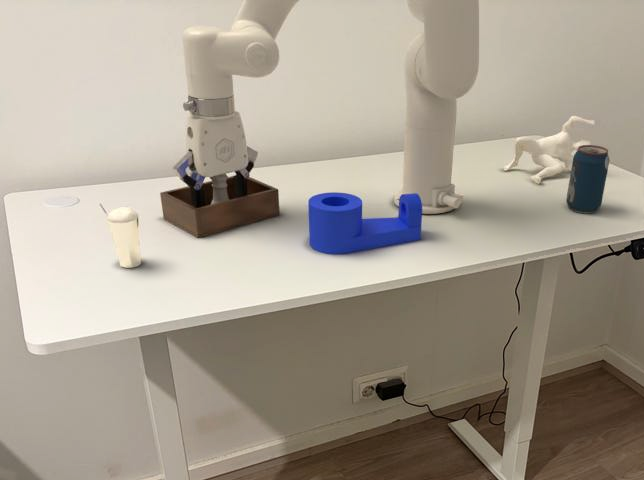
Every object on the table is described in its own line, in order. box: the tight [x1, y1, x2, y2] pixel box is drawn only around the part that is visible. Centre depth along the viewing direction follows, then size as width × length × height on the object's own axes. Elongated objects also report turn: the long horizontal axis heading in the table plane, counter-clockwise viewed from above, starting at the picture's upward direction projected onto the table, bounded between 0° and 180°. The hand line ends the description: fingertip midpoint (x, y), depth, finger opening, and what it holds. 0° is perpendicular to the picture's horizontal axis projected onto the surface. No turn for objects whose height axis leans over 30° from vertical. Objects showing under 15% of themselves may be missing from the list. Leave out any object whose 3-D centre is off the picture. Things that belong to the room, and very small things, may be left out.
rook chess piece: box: [209, 173, 229, 205], centre depth 134 cm, size 4×4×8 cm
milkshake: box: [99, 203, 142, 269], centre depth 114 cm, size 4×5×10 cm
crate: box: [159, 175, 281, 239], centre depth 135 cm, size 18×12×5 cm, turn 135°
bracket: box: [307, 191, 423, 255], centre depth 127 cm, size 20×9×8 cm, turn 111°
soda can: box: [565, 144, 610, 214], centre depth 145 cm, size 7×7×12 cm
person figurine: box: [503, 115, 596, 185], centre depth 165 cm, size 13×13×18 cm
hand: (220, 203), depth 134 cm, fingers open, 8 cm apart
